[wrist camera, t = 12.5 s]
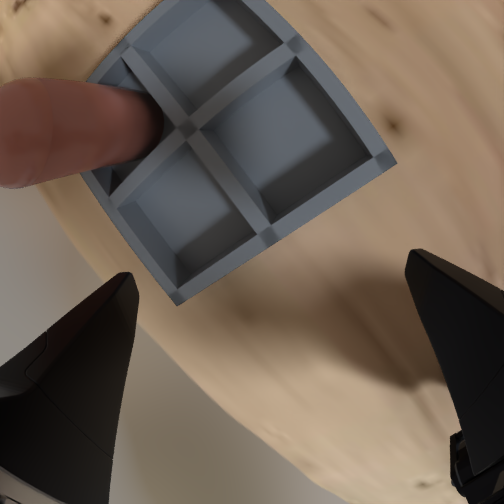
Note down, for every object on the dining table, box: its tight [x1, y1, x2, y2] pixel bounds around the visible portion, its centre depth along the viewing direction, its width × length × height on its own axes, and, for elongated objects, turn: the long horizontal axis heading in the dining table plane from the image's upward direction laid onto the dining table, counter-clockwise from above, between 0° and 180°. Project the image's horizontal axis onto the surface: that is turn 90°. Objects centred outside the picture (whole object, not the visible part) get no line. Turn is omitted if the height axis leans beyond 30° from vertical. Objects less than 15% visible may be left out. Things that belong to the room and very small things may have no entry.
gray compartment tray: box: [80, 0, 397, 306], centre depth 18 cm, size 17×17×3 cm
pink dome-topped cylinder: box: [0, 77, 164, 189], centre depth 14 cm, size 5×5×13 cm
